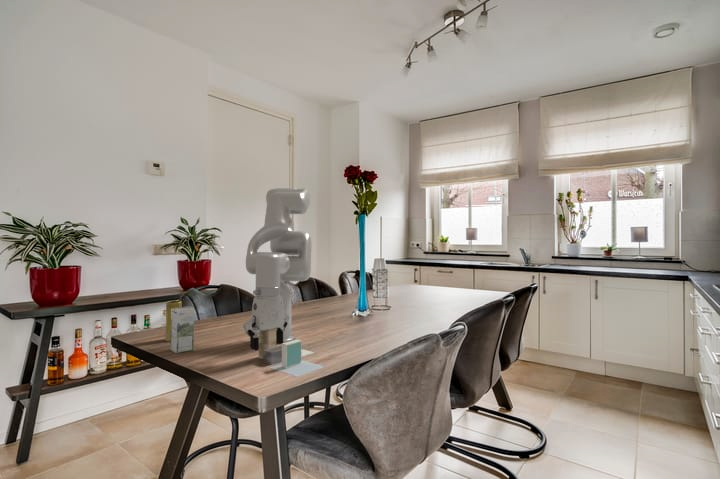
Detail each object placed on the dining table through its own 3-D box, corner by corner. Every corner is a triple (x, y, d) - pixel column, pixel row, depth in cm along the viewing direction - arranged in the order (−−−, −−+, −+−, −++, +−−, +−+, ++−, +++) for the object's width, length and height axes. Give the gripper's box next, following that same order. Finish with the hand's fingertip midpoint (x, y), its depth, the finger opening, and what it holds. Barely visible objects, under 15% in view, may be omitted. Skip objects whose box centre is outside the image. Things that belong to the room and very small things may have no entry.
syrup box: (187, 347, 135) (187, 305, 135) (194, 350, 131) (194, 307, 131) (170, 350, 131) (170, 307, 131) (176, 354, 127) (176, 310, 127)
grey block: (253, 360, 121) (253, 328, 121) (271, 354, 127) (271, 324, 127) (271, 366, 116) (271, 332, 116) (289, 360, 121) (289, 328, 121)
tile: (281, 367, 113) (281, 343, 113) (296, 362, 118) (297, 339, 118) (286, 368, 112) (286, 344, 112) (301, 363, 117) (301, 340, 117)
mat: (269, 368, 113) (269, 367, 113) (297, 359, 122) (297, 358, 122) (297, 378, 106) (297, 376, 106) (325, 367, 114) (325, 366, 114)
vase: (160, 340, 143) (161, 302, 143) (174, 336, 149) (174, 299, 148) (173, 342, 141) (173, 303, 141) (186, 338, 146) (186, 301, 146)
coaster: (286, 354, 127) (286, 352, 127) (299, 350, 132) (299, 348, 132) (300, 358, 123) (300, 356, 123) (314, 354, 128) (314, 352, 128)
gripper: (252, 296, 113) (251, 354, 113) (296, 290, 127) (295, 343, 127) (237, 294, 118) (236, 350, 118) (281, 289, 131) (280, 339, 131)
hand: (267, 346), depth 122 cm, fingers open, 9 cm apart
